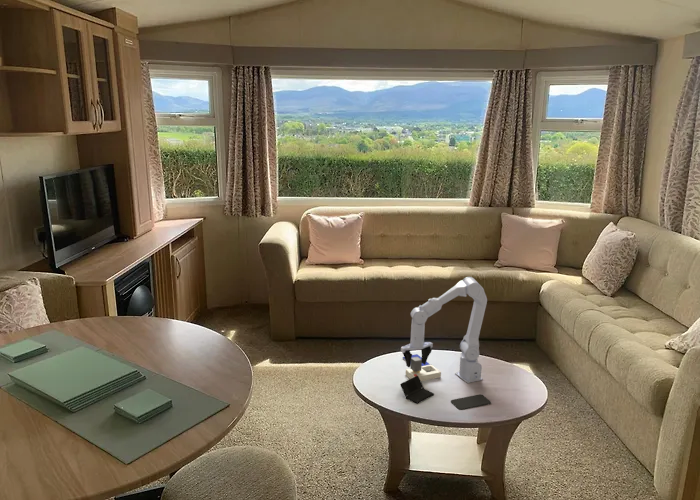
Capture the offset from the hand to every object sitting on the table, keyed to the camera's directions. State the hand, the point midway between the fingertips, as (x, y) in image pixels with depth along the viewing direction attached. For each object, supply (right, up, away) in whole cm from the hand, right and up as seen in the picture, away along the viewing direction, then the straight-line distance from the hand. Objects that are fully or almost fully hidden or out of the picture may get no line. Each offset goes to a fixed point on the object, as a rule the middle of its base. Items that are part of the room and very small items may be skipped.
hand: (415, 364), depth 235 cm
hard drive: (+2, -3, +15) cm, 16 cm away
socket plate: (+3, -5, +2) cm, 7 cm away
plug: (0, -3, +1) cm, 3 cm away
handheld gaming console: (-1, -10, -14) cm, 17 cm away
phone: (+20, -11, -19) cm, 29 cm away
